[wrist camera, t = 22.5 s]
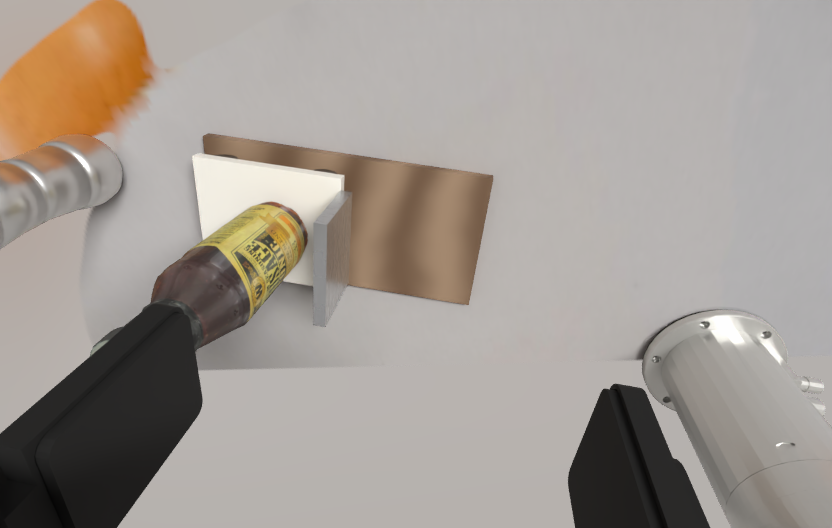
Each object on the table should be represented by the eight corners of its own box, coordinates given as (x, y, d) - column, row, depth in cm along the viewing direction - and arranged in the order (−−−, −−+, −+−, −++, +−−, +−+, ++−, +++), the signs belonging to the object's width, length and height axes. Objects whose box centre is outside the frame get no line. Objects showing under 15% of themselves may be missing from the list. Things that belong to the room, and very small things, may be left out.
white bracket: (360, 171, 41) (327, 211, 33) (355, 278, 46) (325, 337, 38) (208, 148, 42) (138, 182, 34) (220, 255, 47) (161, 308, 39)
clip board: (493, 175, 41) (493, 179, 40) (468, 299, 47) (468, 305, 46) (208, 133, 43) (202, 136, 42) (222, 258, 49) (217, 262, 48)
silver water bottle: (78, 190, 47) (-163, 294, 30) (61, 123, 44) (-220, 194, 27) (138, 200, 47) (-70, 311, 29) (125, 133, 44) (-117, 213, 26)
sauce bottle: (314, 263, 43) (196, 432, 26) (249, 258, 44) (92, 418, 26) (308, 196, 40) (169, 336, 23) (238, 191, 41) (52, 323, 23)
